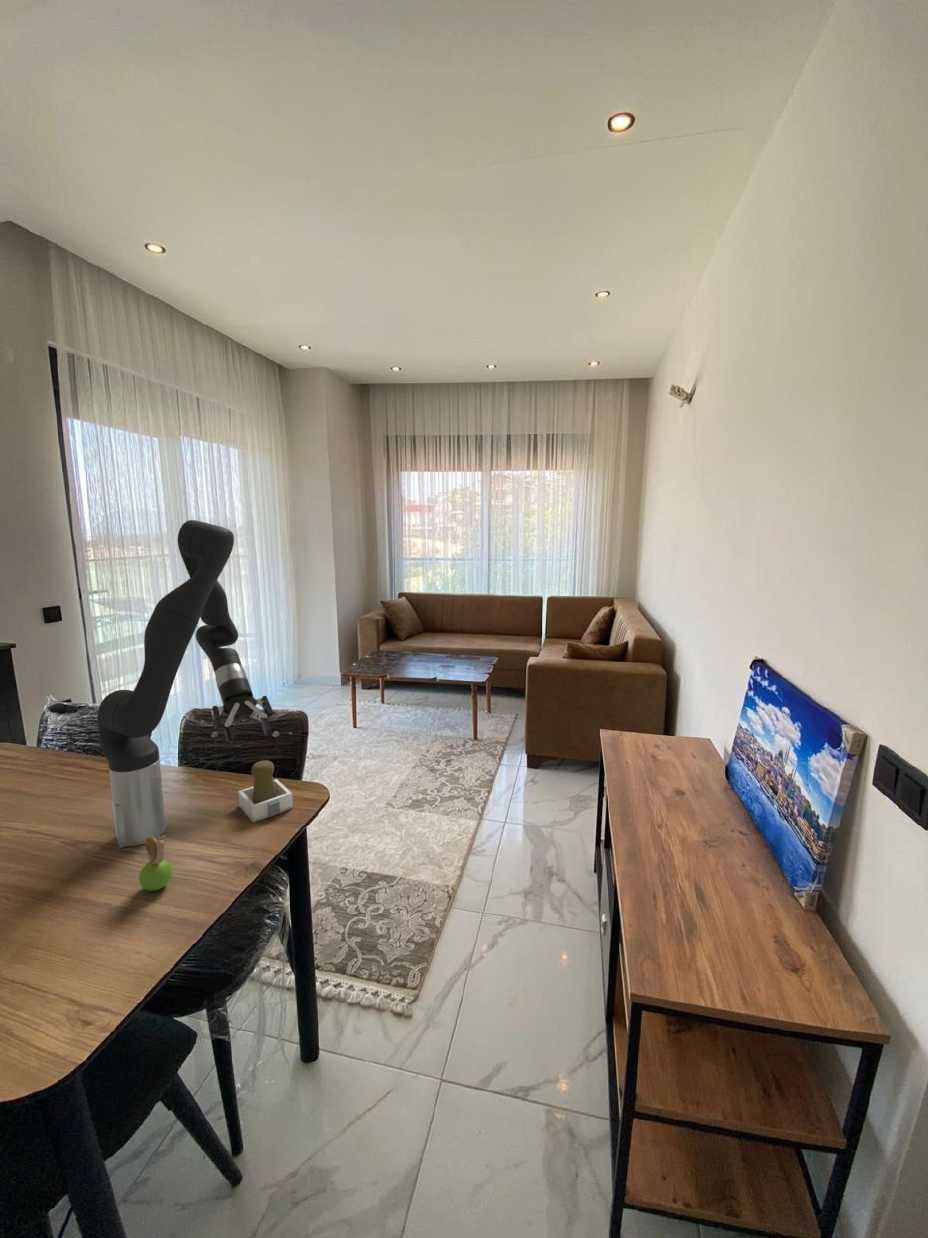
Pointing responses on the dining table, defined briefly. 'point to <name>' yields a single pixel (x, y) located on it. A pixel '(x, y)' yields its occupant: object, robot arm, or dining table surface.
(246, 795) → the box
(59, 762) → the dining table surface
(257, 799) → the cork
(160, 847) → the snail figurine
